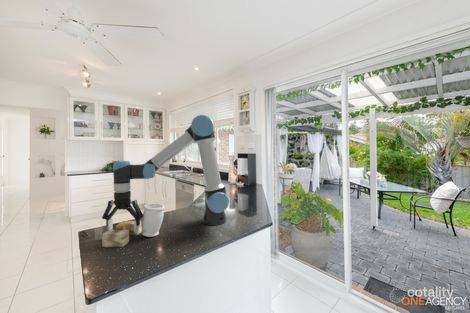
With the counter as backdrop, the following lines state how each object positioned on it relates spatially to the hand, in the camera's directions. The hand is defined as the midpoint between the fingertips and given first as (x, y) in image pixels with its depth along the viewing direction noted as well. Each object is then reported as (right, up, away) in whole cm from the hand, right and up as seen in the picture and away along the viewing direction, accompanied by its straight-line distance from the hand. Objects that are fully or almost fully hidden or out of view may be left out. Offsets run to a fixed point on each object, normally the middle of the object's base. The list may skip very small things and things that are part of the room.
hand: (123, 232), depth 104 cm
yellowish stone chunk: (0, -3, 0) cm, 3 cm away
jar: (+12, -2, +4) cm, 13 cm away
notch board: (0, -3, 0) cm, 3 cm away
